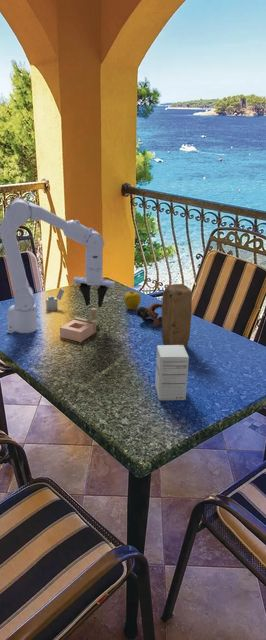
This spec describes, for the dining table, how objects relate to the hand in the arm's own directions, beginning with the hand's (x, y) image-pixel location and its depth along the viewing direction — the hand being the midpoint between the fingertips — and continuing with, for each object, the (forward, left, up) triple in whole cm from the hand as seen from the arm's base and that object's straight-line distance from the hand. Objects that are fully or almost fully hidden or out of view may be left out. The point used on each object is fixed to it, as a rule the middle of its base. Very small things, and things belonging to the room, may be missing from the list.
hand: (94, 305), depth 160 cm
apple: (+3, +24, -9) cm, 26 cm away
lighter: (-23, +9, -9) cm, 26 cm away
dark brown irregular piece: (+16, +15, -9) cm, 24 cm away
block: (+30, +1, -9) cm, 31 cm away
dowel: (0, 0, -8) cm, 8 cm away
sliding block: (0, -11, -7) cm, 13 cm away
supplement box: (+41, -29, -9) cm, 51 cm away
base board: (0, -13, -8) cm, 15 cm away
